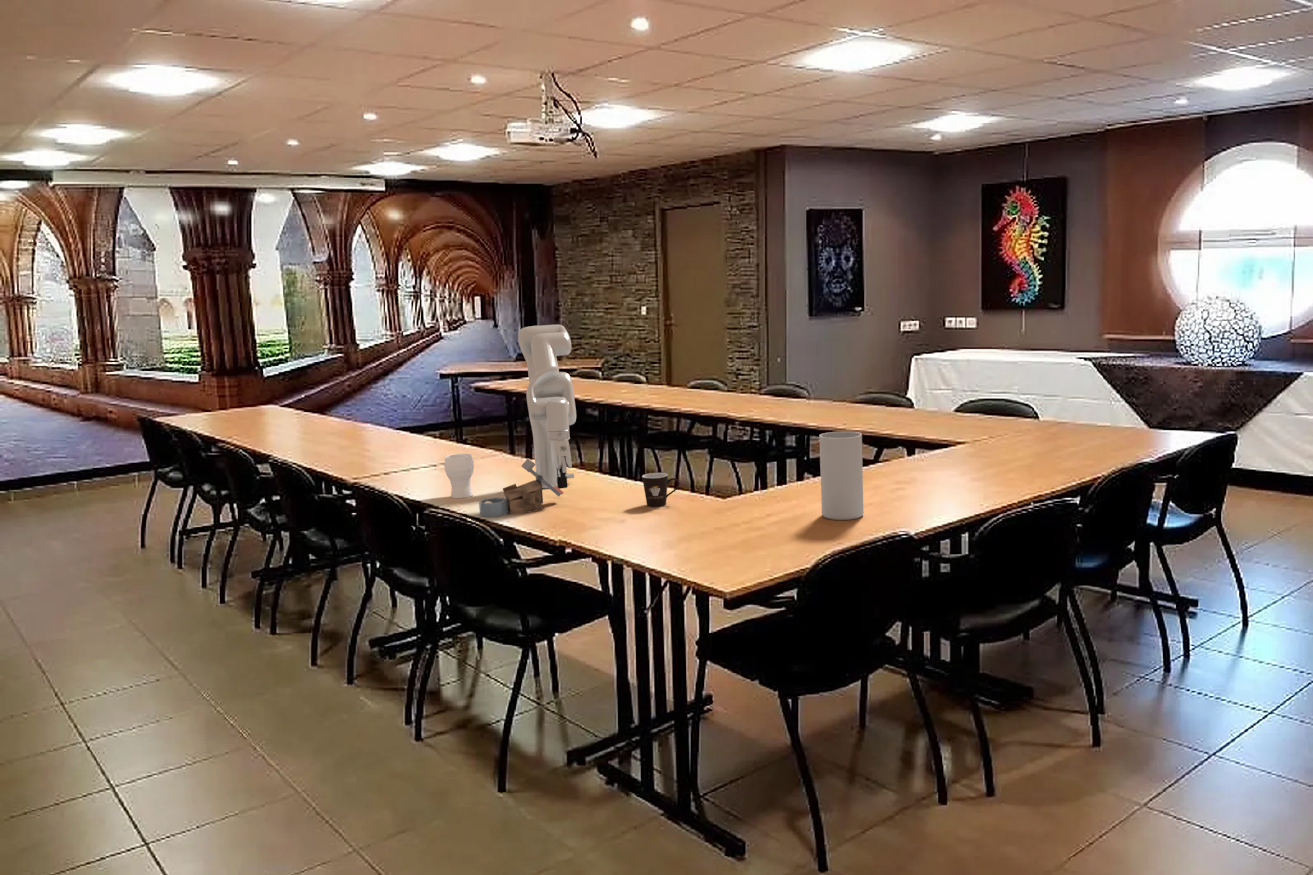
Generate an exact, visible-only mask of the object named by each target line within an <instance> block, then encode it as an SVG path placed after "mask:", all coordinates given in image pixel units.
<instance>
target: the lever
mask: <svg viewBox="0 0 1313 875" xmlns="http://www.w3.org/2000/svg"><path fill="white" fill-rule="evenodd" d="M535 465H536V464H535V462H533V461H532V460H530V459H529V458H527V459H525V461H524V462H523V463H522V464H521V467H522V468H523V469H524V470H525V471H527V472H528V473H530V474H531V475H533V476H534V477H535V480H536V479H537V480H538V481H541V482H542V483H543V484H544V485H546V486H547V487H548V488H547V489H549V490H550V491H551V492H552V493H554V494H555V495H556V496H557V497H560V496H561V495H564V491H563V490H562V489H559V488H558V487H557V486H554V487H552V486H551V485H550V484H549V483H548V482H546V481H545V480H544V479H543V477H542V476H541V475H538V474H537V473H536V470H533V468H534V467H535Z"/></svg>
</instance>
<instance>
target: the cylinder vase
mask: <svg viewBox="0 0 1313 875" xmlns="http://www.w3.org/2000/svg"><path fill="white" fill-rule="evenodd" d="M818 438H819V465H820V490H821V491H820V494H821V495H820V496H821V497H820V498H821V499H820V501H821V516H823V517H824V518H825V519H829V520H833V521H849V520H850V521H851V520H856V519H860V518H861V517H863V516H864V480H863V478H864V476H863V472H864V471H863V470H864V468H863V435H862V433H861V432H856V431H832V432H831V431H830V432H829V431H828V432H825V433H821V434H819V437H818Z"/></svg>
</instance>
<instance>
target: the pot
mask: <svg viewBox="0 0 1313 875" xmlns="http://www.w3.org/2000/svg"><path fill="white" fill-rule="evenodd" d="M486 501H490V502H492V503H485V502H486ZM478 509H479V515H480V516H481V517H482V518H493V517H494V518H495V517H502V516H504V515H507V514H509V512H508V505H507V500H506V497H490V498H485V499H482V500H479V501H478Z"/></svg>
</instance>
